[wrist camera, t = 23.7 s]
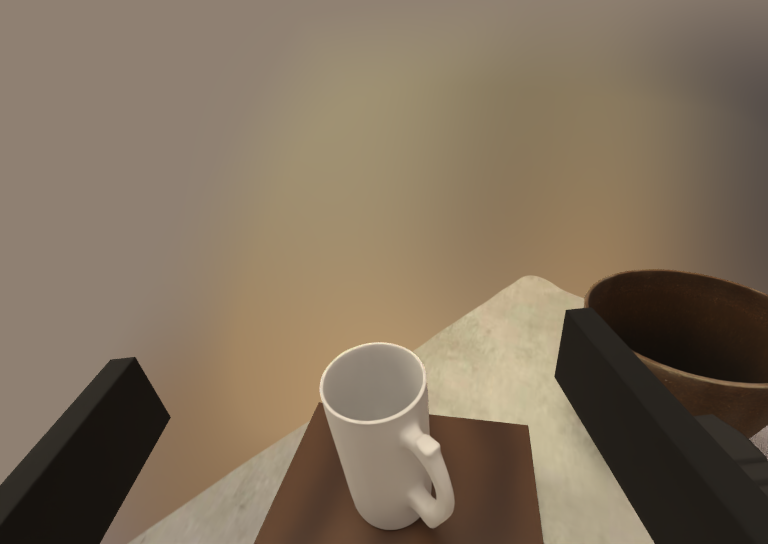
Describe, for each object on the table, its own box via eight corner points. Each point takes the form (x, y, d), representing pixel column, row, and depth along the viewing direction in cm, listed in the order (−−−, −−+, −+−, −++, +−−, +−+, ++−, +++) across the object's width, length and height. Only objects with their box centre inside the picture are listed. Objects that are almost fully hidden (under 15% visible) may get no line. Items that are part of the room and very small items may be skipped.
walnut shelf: (271, 604, 29) (244, 562, 25) (331, 445, 41) (318, 402, 37) (543, 677, 24) (555, 637, 20) (522, 472, 36) (528, 425, 32)
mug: (334, 481, 30) (301, 375, 24) (398, 434, 33) (383, 329, 27) (414, 607, 22) (395, 497, 16) (487, 529, 25) (493, 414, 20)
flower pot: (609, 530, 31) (658, 397, 23) (540, 392, 44) (555, 277, 36) (794, 515, 30) (908, 373, 22) (667, 379, 43) (711, 260, 35)
